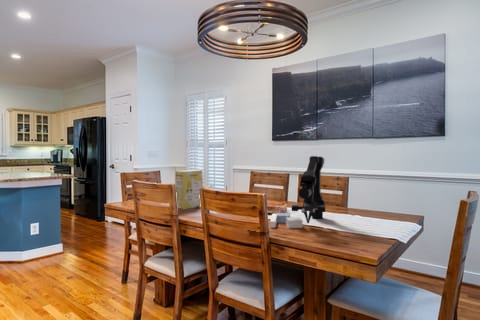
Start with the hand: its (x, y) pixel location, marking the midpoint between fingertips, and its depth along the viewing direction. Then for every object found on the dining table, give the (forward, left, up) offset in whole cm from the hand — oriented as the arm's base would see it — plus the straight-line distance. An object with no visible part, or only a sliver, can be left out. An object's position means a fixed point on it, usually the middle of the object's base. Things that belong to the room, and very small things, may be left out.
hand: (308, 223), depth 181 cm
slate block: (+14, -11, -2) cm, 18 cm away
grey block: (+8, 0, -2) cm, 8 cm away
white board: (+20, -6, -2) cm, 21 cm away
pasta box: (+88, -49, -2) cm, 100 cm away
